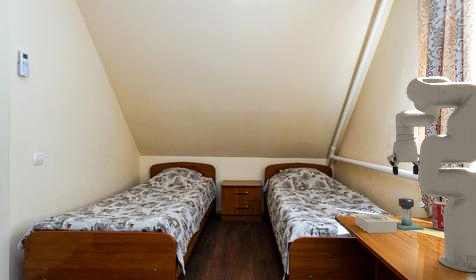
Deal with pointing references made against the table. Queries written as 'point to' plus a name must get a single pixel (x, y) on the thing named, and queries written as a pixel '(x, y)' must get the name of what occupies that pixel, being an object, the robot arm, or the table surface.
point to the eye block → (376, 223)
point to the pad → (409, 227)
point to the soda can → (438, 215)
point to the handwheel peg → (406, 211)
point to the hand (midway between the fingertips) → (405, 174)
